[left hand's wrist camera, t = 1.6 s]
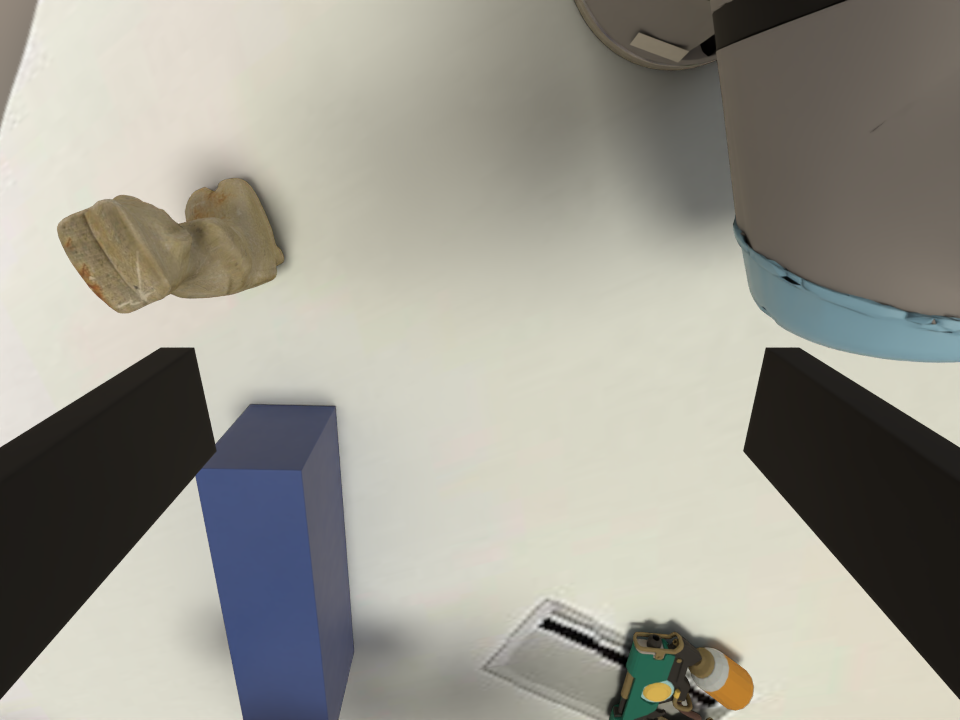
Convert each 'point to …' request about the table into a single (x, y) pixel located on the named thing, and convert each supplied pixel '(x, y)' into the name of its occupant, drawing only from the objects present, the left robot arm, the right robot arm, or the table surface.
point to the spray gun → (677, 678)
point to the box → (281, 560)
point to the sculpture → (172, 247)
